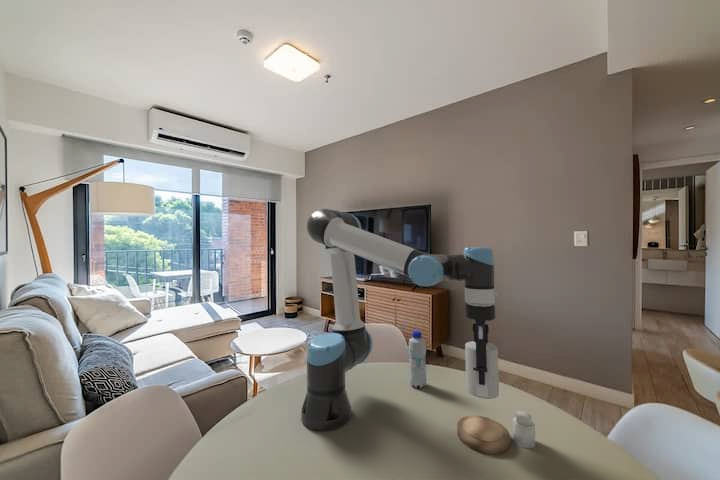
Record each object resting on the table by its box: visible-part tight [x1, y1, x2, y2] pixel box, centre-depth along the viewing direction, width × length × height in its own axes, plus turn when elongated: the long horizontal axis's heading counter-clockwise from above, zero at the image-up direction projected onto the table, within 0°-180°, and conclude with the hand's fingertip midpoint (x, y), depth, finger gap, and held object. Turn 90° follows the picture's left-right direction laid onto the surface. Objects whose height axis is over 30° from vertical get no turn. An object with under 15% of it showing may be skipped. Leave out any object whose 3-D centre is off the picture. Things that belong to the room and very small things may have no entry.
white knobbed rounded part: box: [512, 410, 536, 450], centre depth 75 cm, size 5×5×7 cm
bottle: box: [407, 330, 427, 389], centre depth 107 cm, size 7×7×20 cm
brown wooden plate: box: [456, 415, 511, 455], centre depth 77 cm, size 13×13×2 cm
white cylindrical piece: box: [464, 340, 500, 400], centre depth 77 cm, size 8×8×12 cm
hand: (482, 388), depth 77 cm, fingers closed on white cylindrical piece, 8 cm apart
